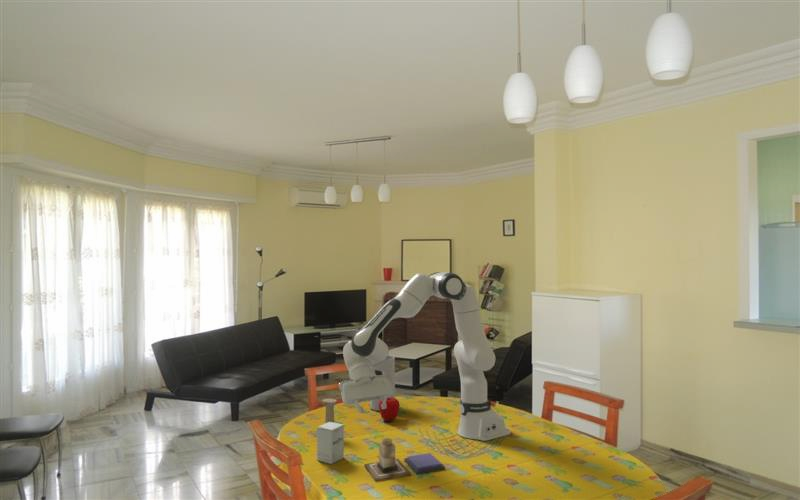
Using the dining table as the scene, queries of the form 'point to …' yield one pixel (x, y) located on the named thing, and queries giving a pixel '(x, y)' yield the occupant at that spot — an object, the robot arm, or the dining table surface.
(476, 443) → the dining table surface
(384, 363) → the cylinder vase
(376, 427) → the dining table surface
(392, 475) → the marked board
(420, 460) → the ink pad
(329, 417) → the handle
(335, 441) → the supplement box
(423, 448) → the dining table surface
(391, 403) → the apple
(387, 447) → the wooden stamp
